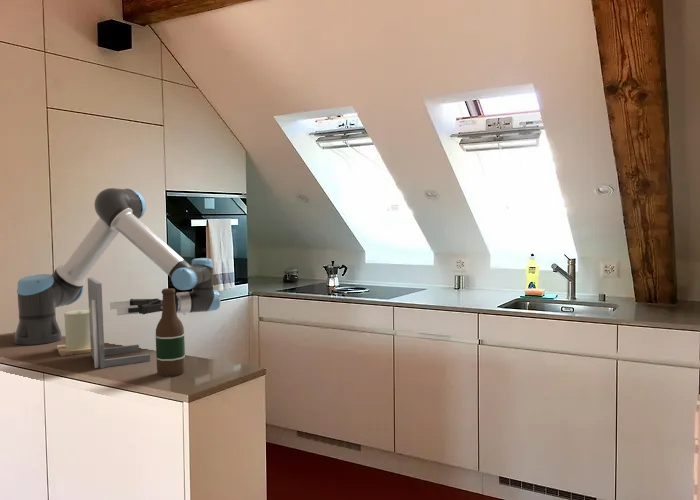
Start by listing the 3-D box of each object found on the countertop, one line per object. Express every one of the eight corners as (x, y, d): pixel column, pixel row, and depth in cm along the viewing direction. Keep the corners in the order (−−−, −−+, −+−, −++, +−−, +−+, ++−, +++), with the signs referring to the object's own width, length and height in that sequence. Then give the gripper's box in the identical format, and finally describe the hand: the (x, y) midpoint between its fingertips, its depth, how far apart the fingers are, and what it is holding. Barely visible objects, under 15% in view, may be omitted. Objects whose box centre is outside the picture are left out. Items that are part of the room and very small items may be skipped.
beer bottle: (158, 378, 170) (155, 291, 168) (155, 371, 177) (152, 288, 176) (187, 374, 173) (184, 289, 171) (183, 368, 180) (180, 286, 179)
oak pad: (57, 348, 210) (57, 345, 210) (98, 343, 216) (98, 340, 216) (61, 356, 199) (60, 352, 198) (104, 350, 205) (104, 347, 205)
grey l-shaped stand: (86, 356, 198) (82, 278, 197) (137, 349, 206) (134, 274, 204) (95, 369, 181) (91, 284, 179) (151, 361, 189) (148, 280, 187)
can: (66, 350, 201) (64, 313, 200) (64, 345, 209) (63, 309, 209) (96, 347, 205) (95, 311, 205) (94, 342, 214) (92, 307, 213)
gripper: (186, 319, 211) (120, 325, 201) (167, 308, 233) (107, 313, 222) (185, 297, 211) (120, 302, 200) (167, 289, 232) (107, 292, 221)
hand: (113, 308), depth 211 cm, fingers open, 13 cm apart
